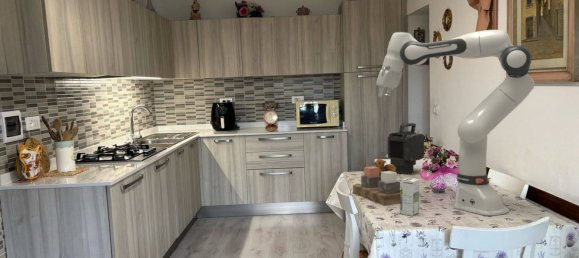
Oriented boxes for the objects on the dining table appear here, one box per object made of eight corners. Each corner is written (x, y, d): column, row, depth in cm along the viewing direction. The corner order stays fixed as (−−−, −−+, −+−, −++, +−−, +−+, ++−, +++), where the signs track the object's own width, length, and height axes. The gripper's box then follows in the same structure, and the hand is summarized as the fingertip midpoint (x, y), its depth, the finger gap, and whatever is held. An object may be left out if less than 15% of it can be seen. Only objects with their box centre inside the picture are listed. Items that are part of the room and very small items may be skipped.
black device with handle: (400, 169, 277) (400, 122, 274) (425, 173, 263) (425, 123, 260) (385, 172, 267) (385, 123, 264) (410, 176, 254) (410, 125, 251)
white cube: (396, 183, 201) (396, 172, 200) (387, 184, 199) (387, 173, 198) (390, 181, 205) (390, 170, 205) (381, 182, 203) (381, 171, 203)
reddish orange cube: (378, 177, 214) (378, 167, 213) (370, 178, 212) (370, 168, 211) (372, 176, 218) (372, 166, 218) (364, 177, 216) (364, 167, 216)
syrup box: (405, 210, 186) (405, 177, 184) (419, 213, 182) (419, 178, 181) (399, 214, 181) (399, 179, 180) (413, 216, 178) (413, 181, 176)
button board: (409, 201, 200) (409, 182, 199) (384, 205, 195) (383, 185, 194) (376, 189, 224) (376, 172, 223) (352, 193, 218) (352, 175, 217)
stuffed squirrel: (366, 181, 244) (366, 158, 243) (387, 179, 250) (387, 156, 248) (377, 185, 235) (377, 160, 234) (398, 182, 240) (398, 158, 239)
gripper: (391, 67, 189) (382, 98, 192) (405, 69, 206) (397, 98, 209) (377, 63, 192) (369, 94, 195) (393, 66, 210) (385, 94, 213)
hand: (383, 96), depth 202 cm, fingers open, 8 cm apart
